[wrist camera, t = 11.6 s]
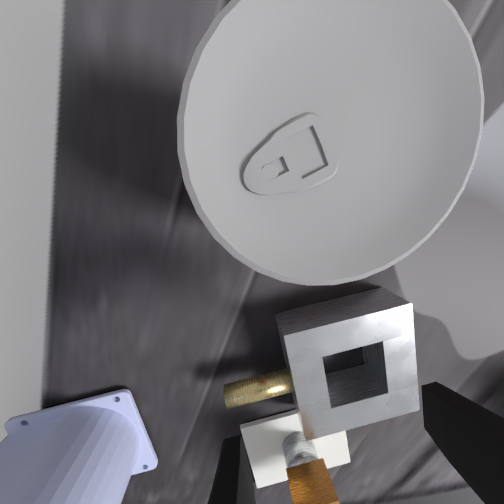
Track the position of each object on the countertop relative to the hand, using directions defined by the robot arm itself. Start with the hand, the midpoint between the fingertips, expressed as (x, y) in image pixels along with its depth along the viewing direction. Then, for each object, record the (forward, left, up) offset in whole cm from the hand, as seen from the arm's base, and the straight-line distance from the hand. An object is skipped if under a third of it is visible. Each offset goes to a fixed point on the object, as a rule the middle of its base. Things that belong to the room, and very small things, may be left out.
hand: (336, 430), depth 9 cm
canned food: (+1, +10, -10) cm, 14 cm away
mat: (-1, -13, -10) cm, 16 cm away
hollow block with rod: (+2, -4, -10) cm, 11 cm away
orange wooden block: (-1, -13, -10) cm, 16 cm away
